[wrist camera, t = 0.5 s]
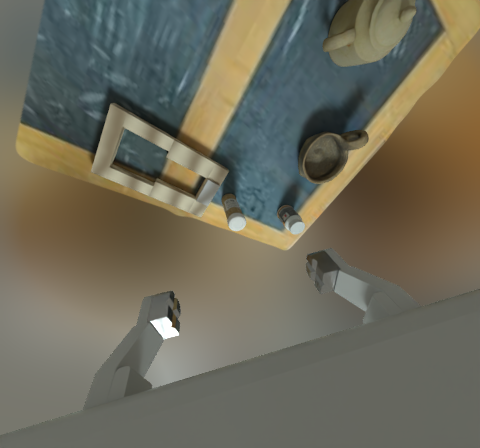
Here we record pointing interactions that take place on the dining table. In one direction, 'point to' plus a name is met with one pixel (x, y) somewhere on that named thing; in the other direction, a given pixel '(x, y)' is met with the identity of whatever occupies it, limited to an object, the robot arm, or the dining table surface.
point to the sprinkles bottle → (233, 213)
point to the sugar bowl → (367, 30)
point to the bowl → (328, 154)
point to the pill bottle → (290, 219)
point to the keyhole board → (177, 152)
